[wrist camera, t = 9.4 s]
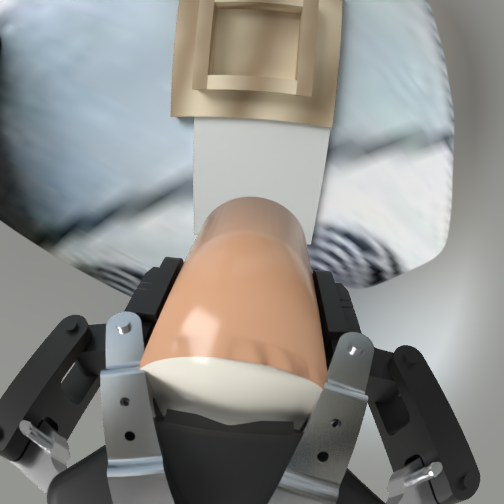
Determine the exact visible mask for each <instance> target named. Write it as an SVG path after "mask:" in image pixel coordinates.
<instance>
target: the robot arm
mask: <svg viewBox="0 0 504 504" xmlns="http://www.w3.org/2000/svg"><path fill="white" fill-rule="evenodd" d="M183 264H184V263H183V259H182V258H172V257H165V259H164V260H163V262H162V264H161V266H160V268H159V267H153V268H152V269H151V270H149V271H148V272H147V273H145V275H144V277H143V279H142V280H141V283H140V284H139V285H138V287H137V289H136V291H135V292H134V294H133V296H132V298H131V300H130V302H129V303H128V305H127V307H126V309H125V311H124V312H120V313H117V314H115V315H113V316H112V317H111V318H110V319H109V320H108V322H107V324H96V325H88V323H87V321H86V319H85V318H84V317H82V316H80V315H71V316H68V317H66V318H65V319H63V320H62V321H61V322H60V323H59V324H58V325H57V327H56V328H55V329H54V330H53V331H52V332H51V334H50V335H49V336H48V337H47V338H46V339H45V341H44V342H43V343H42V344H41V345H40V347H39V348H38V349H37V351H36V352H35V353H34V354H33V355H32V357H31V358H30V359H29V361H28V362H27V363H26V364H25V366H24V367H23V368H22V370H21V371H20V372H19V374H18V375H17V376H16V378H15V379H14V380H13V382H12V383H11V385H10V386H9V387H8V389H7V390H6V392H5V393H4V394H3V396H2V397H1V399H0V455H1V456H2V457H3V458H4V459H6V460H7V461H9V462H11V463H12V464H14V465H15V466H16V467H18V469H19V470H20V471H21V472H22V473H24V474H25V475H26V476H27V477H28V478H29V479H30V480H31V481H32V482H33V483H34V484H35V485H37V486H38V487H39V488H40V489H41V490H42V491H44V492H45V493H46V494H47V503H48V504H455V503H458V502H461V501H464V500H466V499H469V498H470V497H472V496H473V495H474V494H475V492H476V491H477V489H478V487H479V483H480V473H479V470H478V467H477V465H476V462H475V460H474V457H473V455H472V452H471V450H470V447H469V445H468V443H467V441H466V439H465V436H464V434H463V431H462V429H461V427H460V425H459V423H458V421H457V419H456V417H455V415H454V412H453V410H452V408H451V406H450V404H449V403H448V401H447V399H446V397H445V395H444V393H443V391H442V389H441V387H440V385H439V384H438V382H437V380H436V378H435V377H434V374H433V373H432V371H431V369H430V367H429V366H428V364H427V362H426V360H425V359H424V357H423V355H422V354H421V353H420V352H419V351H418V350H417V349H416V348H414V347H412V346H408V345H403V346H400V347H398V348H397V349H396V350H395V352H394V353H392V352H388V351H384V350H380V349H377V348H375V347H374V346H373V344H372V342H371V340H370V339H369V338H368V337H366V336H365V335H363V334H362V333H361V330H360V326H359V323H358V320H357V317H356V314H355V311H354V309H353V305H352V302H351V298H350V296H349V293H348V291H347V289H346V288H345V287H344V286H343V285H342V284H341V283H335V282H334V279H333V276H332V273H331V271H320V270H314V271H313V273H312V275H313V281H314V286H315V292H316V298H317V304H318V310H319V316H320V322H321V329H322V336H323V343H324V350H325V357H326V365H327V377H328V382H325V384H324V391H322V392H321V393H320V395H319V397H318V398H317V400H316V402H315V404H314V405H313V407H312V409H311V410H310V412H309V413H308V415H307V417H306V418H305V420H304V421H303V423H302V425H301V426H300V428H299V429H298V430H297V429H294V421H257V422H251V423H244V424H237V425H226V424H223V423H220V422H217V421H214V420H212V419H209V418H206V417H204V416H201V415H198V414H194V413H188V412H182V411H177V410H172V409H167V411H166V415H165V413H164V411H163V409H162V407H161V405H160V403H159V401H158V399H157V397H156V395H155V393H154V391H153V388H152V386H151V384H150V382H149V380H148V377H147V375H146V373H145V370H140V365H139V364H140V361H141V359H142V356H143V354H144V351H145V349H146V346H147V344H148V341H149V339H150V337H151V334H152V332H153V330H154V327H155V325H156V323H157V320H158V318H159V316H160V314H161V311H162V309H163V307H164V305H165V302H166V300H167V298H168V296H169V294H170V292H171V289H172V287H173V285H174V283H175V281H176V279H177V276H178V274H179V272H180V270H181V268H182V266H183ZM73 363H75V365H74V366H73V368H72V369H71V370H70V372H69V373H68V375H67V376H66V378H65V379H64V380H63V382H62V383H61V381H62V378H63V377H64V376H65V374H66V373H67V371H68V370H69V368H70V367H71V366H72V364H73ZM100 386H101V404H102V416H103V427H104V435H105V443H106V445H104V446H103V447H101V448H99V449H98V450H97V451H95V452H93V453H92V454H90V455H89V456H87V457H86V458H84V459H82V460H81V461H79V462H78V463H76V464H74V465H72V466H71V467H69V468H67V466H66V461H67V460H68V459H69V458H70V452H69V446H68V443H67V439H68V438H69V436H70V435H71V433H72V431H73V429H74V428H75V426H76V424H77V423H78V421H79V419H80V418H81V416H82V414H83V413H84V411H85V409H86V408H87V406H88V404H89V403H90V401H91V400H92V398H93V396H94V395H95V393H96V392H97V390H98V388H99V387H100ZM367 402H368V405H369V407H370V410H371V412H372V415H373V417H374V420H375V423H376V425H377V428H378V430H379V433H380V436H381V438H382V441H383V444H384V447H385V449H386V452H387V455H388V457H389V461H390V463H391V466H392V469H393V472H394V473H393V474H392V475H391V477H390V479H389V483H388V487H387V490H388V492H389V497H388V500H387V502H386V503H384V502H383V501H382V500H381V499H380V498H379V497H378V496H377V495H375V494H374V493H373V492H372V491H371V490H370V489H369V488H368V487H366V485H365V484H363V483H362V482H361V481H360V480H359V479H358V478H357V477H356V476H355V475H354V474H353V473H352V472H351V471H350V470H349V469H348V468H347V467H348V464H349V461H350V458H351V455H352V453H353V450H354V447H355V444H356V441H357V437H358V434H359V431H360V428H361V424H362V421H363V417H364V414H365V410H366V406H367Z"/></svg>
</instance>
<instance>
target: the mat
mask: <svg viewBox="0 0 504 504" xmlns="http://www.w3.org/2000/svg"><path fill="white" fill-rule="evenodd" d="M329 135H330V127H324V126H317V125H311V124H304V123H296V122H288V121H278V120H268V119H256V118H240V117H210V116H194V140H193V199H194V235H198V233H199V231H200V230H201V228H202V226H203V224H204V222H205V220H206V218H207V217H208V216H209V214H210V213H211V212H212V211H213V210H214V209H216V208H217V207H218V206H220V205H221V204H223V203H225V202H227V201H230V200H232V199H236V198H240V197H261V198H266V199H269V200H272V201H275V202H277V203H279V204H281V205H282V206H284V207H285V208H287V209H288V210H289V211H290V212H291V213H292V214H293V215H294V216H295V217H296V218H297V220H298V221H299V222H300V224H301V226H302V228H303V231H304V234H305V239H306V244H310V245H311V241H312V236H313V231H314V226H315V221H316V215H317V210H318V204H319V199H320V193H321V187H322V181H323V175H324V169H325V162H326V156H327V149H328V142H329Z"/></svg>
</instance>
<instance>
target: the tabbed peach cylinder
mask: <svg viewBox="0 0 504 504" xmlns="http://www.w3.org/2000/svg"><path fill="white" fill-rule="evenodd" d="M139 365H140V370H145V373H146V375H147V377H148V380H149V382H150V384H151V386H152V388H153V391H154V393H155V395H156V397H157V399H158V401H159V403H160V405H161V407H162V409H163V411H164V413H165V415H166V411H167V409H172V410H177V411H182V412H188V413H194V414H198V415H201V416H204V417H206V418H209V419H212V420H214V421H217V422H220V423H223V424H226V425H237V424H244V423H251V422H257V421H294V429H297V430H298V429H299V428H300V426H301V425H302V423H303V421H304V420H305V418H306V417H307V415H308V413H309V412H310V410H311V409H312V407H313V405H314V404H315V402H316V400H317V398H318V397H319V395H320V393H321V392H322V391H324V384H325V382H328V377H327V365H326V357H325V350H324V343H323V336H322V329H321V322H320V316H319V310H318V304H317V298H316V292H315V286H314V281H313V275H312V270H311V264H310V259H309V254H308V249H307V244H306V239H305V234H304V231H303V228H302V226H301V224H300V222H299V221H298V220H297V218H296V217H295V216H294V215H293V214H292V213H291V212H290V211H289V210H288V209H287V208H285V207H284V206H282V205H281V204H279V203H277V202H275V201H272V200H269V199H266V198H261V197H240V198H236V199H232V200H230V201H227V202H225V203H223V204H221V205H220V206H218V207H217V208H216V209H214V210H213V211H212V212H211V213H210V214H209V216H208V217H207V218H206V220H205V222H204V224H203V226H202V228H201V230H200V231H199V233H198V235H197V237H196V239H195V241H194V243H193V245H192V247H191V249H190V252H189V254H188V256H187V258H186V260H185V262H184V264H183V266H182V268H181V270H180V272H179V274H178V276H177V279H176V281H175V283H174V285H173V287H172V289H171V292H170V294H169V296H168V298H167V300H166V302H165V305H164V307H163V309H162V311H161V314H160V316H159V318H158V320H157V323H156V325H155V327H154V330H153V332H152V334H151V337H150V339H149V341H148V344H147V346H146V349H145V351H144V354H143V356H142V359H141V361H140V364H139Z"/></svg>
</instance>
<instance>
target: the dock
mask: <svg viewBox="0 0 504 504" xmlns="http://www.w3.org/2000/svg"><path fill="white" fill-rule="evenodd" d="M342 4H343V0H179V7H178V15H177V23H176V33H175V43H174V55H173V70H172V89H171V117H189V116H210V117H240V118H256V119H268V120H278V121H288V122H296V123H304V124H311V125H317V126H324V127H330V128H332V124H333V116H334V108H335V100H336V90H337V81H338V70H339V58H340V45H341V28H342Z"/></svg>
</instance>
